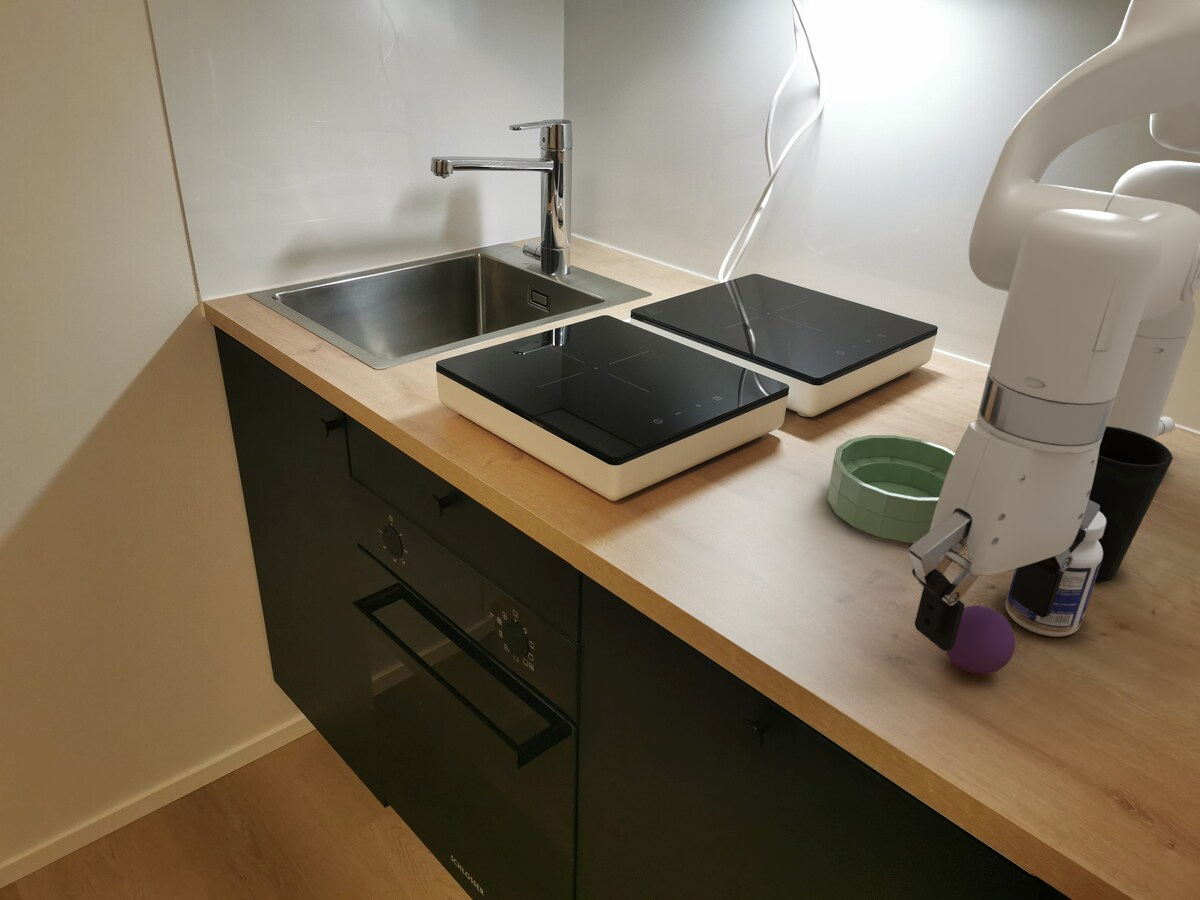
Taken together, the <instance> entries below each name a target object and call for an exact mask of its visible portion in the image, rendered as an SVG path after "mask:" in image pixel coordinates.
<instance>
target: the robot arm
mask: <svg viewBox="0 0 1200 900" xmlns="http://www.w3.org/2000/svg"><path fill="white" fill-rule="evenodd" d="M1121 25H1122V26H1121V27H1120V30H1119V32H1118V35H1117V37H1116V38H1115V40H1114V41H1113V42H1112V43H1111V44H1109V45H1108V46H1106V47H1105V48H1103V49H1102V50H1100V51H1099V52H1097V53H1096V54H1094V55H1092V56H1090V57H1089V58H1088V59H1086V60H1084V61H1083V62H1082V63H1081V64H1079V65H1077V66H1076V67H1074V68H1073V69H1071V70H1070V71H1069V72H1067V73H1066V74H1065V75H1064V76H1063V77H1061V78H1060V79H1059V80H1057V81H1056V82H1055V83H1053V84H1052V86H1051V87H1049V88H1048V89H1047V90H1046V91H1045V92H1044V94H1042V95H1041V96H1040V97H1039V98H1038V99H1037V100H1036V101H1035V102H1034V103H1033V104H1032V105H1031V106H1030V107H1029V108H1028V109H1027V110H1026V111H1025V113H1024V114H1023V115H1022V116H1021V118H1020V119H1019V120H1018V121H1017V123H1016V124H1015V125H1014V127H1013V128H1012V130H1011V132H1010V134H1009V136H1008V137H1007V139H1006V141H1005V142H1004V145H1003V147H1002V149H1001V151H1000V153H999V156H998V158H997V162H996V165H995V167H994V169H993V172H992V174H991V177H990V179H989V181H988V184H987V186H986V189H985V192H984V193H983V196H982V200H981V202H980V205H979V207H978V210H977V213H976V216H975V219H974V222H973V226H972V229H971V234H970V237H969V243H968V260H969V265H970V269H971V271H972V273H973V274H974V276H975V277H976V279H977V280H979V281H980V282H981V283H982V284H984V285H986V286H988V287H990V288H992V289H993V290H998V291H1001V292H1007V297H1006V301H1005V305H1004V309H1003V313H1002V317H1001V320H1000V325H999V329H998V332H997V336H996V337H997V338H996V341H995V345H994V348H993V353H992V357H991V361H990V365H989V369H988V372H987V376H986V380H985V384H984V388H983V392H982V396H981V399H980V403H979V404H980V405H979V407H978V412H977V414H976V415H977V416H976V418H977V419H976V420H973V421H971V422H969V424H968V426H967V428H966V430H965V431H964V433H963V435H962V437H961V439H960V441H959V443H958V446H957V448H956V450H955V451H954V453H955V454H954V457H953V459H952V462H951V464H950V467H949V469H948V472H947V475H946V478H945V481H944V484H943V487H942V490H941V493H940V496H939V499H938V502H937V506H936V509H935V512H934V516H933V520H932V523H931V527H930V532H928V533H927V534H926V535H925V536H923V537H922V538H921V539H919V540H918V541H917V542H915V543H912V544H911V546H910V547H909V549H908V556H909V559H910V563H911V567H912V570H911V573H912V576H913V577H915V579H916V580H917V581H918V584H919V585H920V586H921V587H923V588H922V592H921V595H920V600H919V604H918V608H917V613H916V616H915V619H914V627H915V629H916V631H918V632H919V633H920V634H921V635H923V636H924V637H925V638H927V639H928V640H929V641H930V642H932V643H933V644H934V645H935V646H937V647H938V648H939V649H940V650H942V651H943V652H946V651H948V650H951V649H953V647H954V644H955V640H956V637H957V633H958V629H959V626H960V622H961V618H962V615H963V611H964V607H966V604H965V603H964V602H963V601H961V599H962V598H963V596H964V595H965V594H966V593H967V591H968V590H969V589H970V588H971V587H972V586H973V584H974V583H975V582H976V581H977V579H978V578H980V577H988V576H989V577H990V576H994V575H998V574H1001V573H1005V572H1009V571H1013V570H1015V569H1016V568H1018V569H1017V572H1016V576H1015V579H1014V582H1013V586H1012V589H1011V592H1010V596H1011V597H1012V598H1013V599H1014V600H1016V601H1017V602H1019V603H1020V604H1022V605H1023V606H1025V607H1026V608H1028V609H1029V610H1030V611H1032V612H1033V613H1035V614H1036V615H1038V616H1040V617H1042V618H1043V617H1046V616H1049V615H1050V613H1051V610H1052V607H1053V604H1054V601H1055V598H1056V595H1057V592H1058V589H1059V586H1060V583H1061V579H1062V576H1063V572H1061V571H1060V570H1059V569H1061V570H1065V569H1067V568H1068V567H1069V566H1070V565H1071V563H1072V561H1073V557H1072V555H1071V553H1072V552H1073V551H1074V550H1075V549H1076V547H1077V546H1078V545H1079V544H1080V543H1081V542H1083V541H1084V540H1083V539H1084V538H1085V535H1086V531H1085V530H1084V529H1085V528H1086V529H1087V528H1088V527H1089V525H1090V524H1091V522H1092V521H1093V519H1094V518H1095V516H1096V514H1097V513H1098V511H1099V509H1100V505H1099V504H1097V503H1095V502H1093V501H1091V500H1090V499H1089V496H1090V492H1091V488H1092V484H1093V480H1094V475H1095V471H1096V466H1097V460H1098V454H1099V448H1100V444H1101V441H1102V438H1103V435H1104V432H1105V429H1106V426H1109V427H1116V428H1121V429H1126V430H1130V431H1133V432H1137V433H1140V434H1143V435H1145V436H1148V437H1150V438H1152V439H1154V440H1156V438H1157V437H1158V436H1161V435H1166V434H1169V433H1172V432H1174V430H1175V427H1176V424H1175V421H1174V419H1173V418H1172V417H1170V416H1168V415H1167V416H1165V415H1164V416H1162V415H1163V412H1164V409H1165V406H1166V403H1167V400H1168V398H1169V394H1170V392H1171V389H1172V386H1173V383H1174V380H1175V377H1176V374H1177V372H1178V368H1179V365H1180V364H1181V360H1182V357H1183V354H1184V351H1185V349H1186V346H1187V343H1188V340H1189V338H1190V334H1191V332H1192V328H1193V326H1194V323H1195V318H1196V303H1195V299H1194V294H1195V293H1196V292H1197V291H1198V289H1199V287H1200V163H1199V162H1191V161H1189V162H1188V161H1181V160H1156V161H1155V160H1153V161H1149V162H1145V163H1141V164H1138V165H1136V166H1134V167H1132V168H1130V169H1129V170H1127V171H1126V172H1125V173H1123V175H1121V177H1120V178H1119V179H1118V180H1117V182H1116V184H1115V185H1114V187H1113V189H1112V192H1108V191H1102V190H1101V191H1099V190H1093V189H1087V188H1086V189H1085V188H1080V187H1079V188H1078V187H1071V186H1064V185H1056V184H1050V183H1040V181H1041V180H1042V178H1043V176H1044V174H1045V173H1046V170H1047V169H1048V167H1050V165H1051V164H1052V163H1053V161H1055V160H1056V159H1057V158H1058V157H1059V156H1060V155H1061V154H1062V153H1063V152H1065V151H1066V150H1067V149H1068V148H1070V147H1071V146H1072V145H1074V144H1076V143H1077V142H1079V141H1080V140H1083V139H1084V138H1086V137H1089V136H1090V135H1093V134H1095V133H1096V132H1099V131H1102V130H1105V129H1107V128H1110V127H1113V126H1116V125H1119V124H1123V123H1126V122H1130V121H1134V120H1136V119H1137V120H1138V119H1139V118H1143V117H1146V116H1150V117H1149V131H1150V135H1151V137H1152V139H1153V140H1154V141H1155V142H1156V143H1157V144H1159V145H1160V146H1162V147H1164V148H1166V149H1170V150H1174V151H1179V152H1185V153H1189V154H1190V153H1191V154H1196V155H1200V0H1130V3H1129V5H1128V7H1127V11H1126V13H1125V16H1124V19H1123V22H1122V24H1121ZM963 547H964V548H965V549H966V552H967V553H966V554H967V558H968V559H967V558H965V557H964V556H963V555H962V554H960V553H959V551H960V550H961V549H962V548H963ZM969 559H970V560H969ZM953 563H954V564H955V565H957V566H958V567H960V568H961V571H960V572H959V573H958V574H957V576H956V577H955V579H954V580H952V582H950V580H949V579H948V578H947V577H946V576H945V574H944V573H945V572H946V571H947V569H948V568H949V567H950V565H951V564H953Z"/></svg>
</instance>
